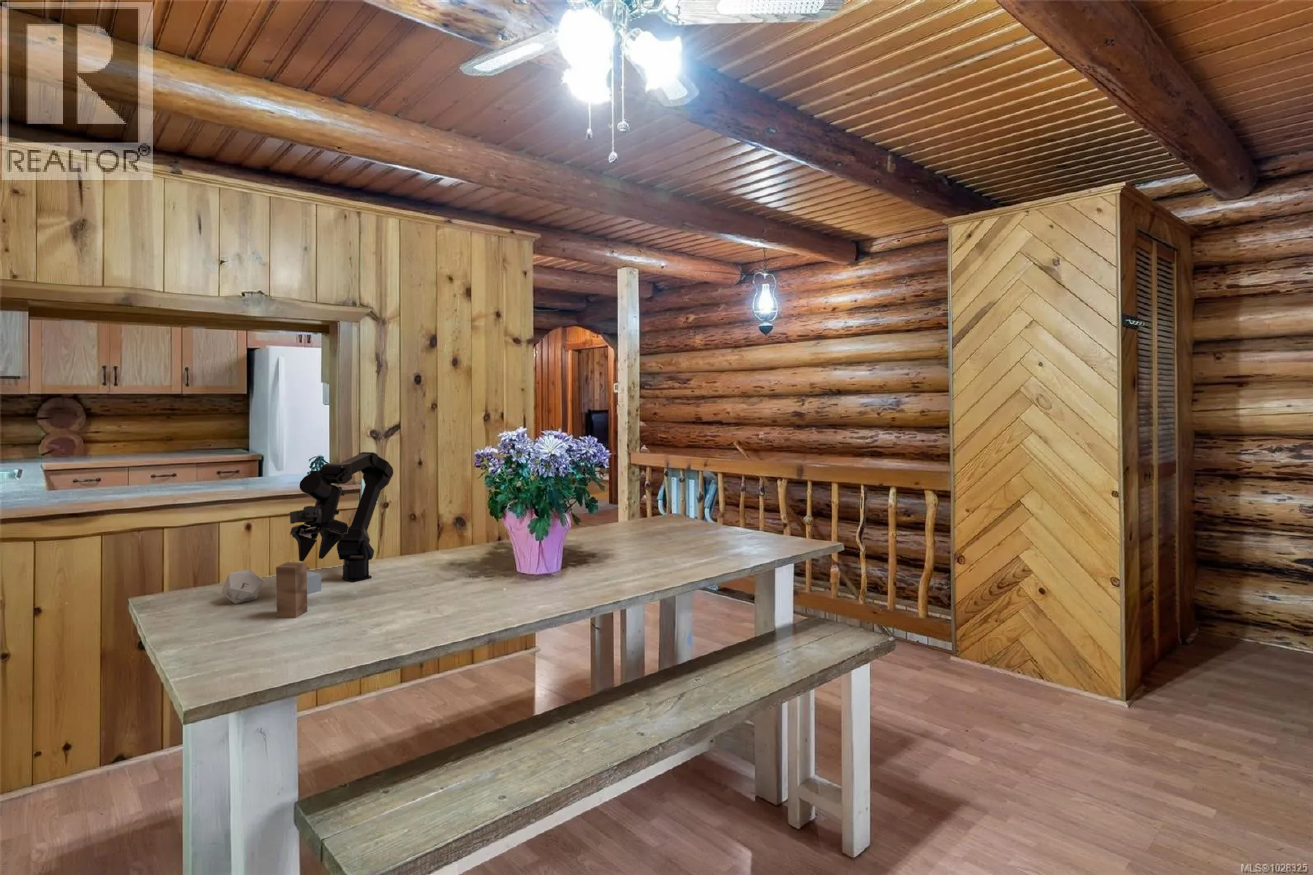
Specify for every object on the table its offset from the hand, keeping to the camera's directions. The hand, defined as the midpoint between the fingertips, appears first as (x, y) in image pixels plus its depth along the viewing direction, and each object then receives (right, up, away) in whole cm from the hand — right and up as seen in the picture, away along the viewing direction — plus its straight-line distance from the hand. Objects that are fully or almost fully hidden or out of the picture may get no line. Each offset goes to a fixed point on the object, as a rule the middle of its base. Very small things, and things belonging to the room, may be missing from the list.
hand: (310, 559), depth 181 cm
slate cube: (-6, -11, +10) cm, 16 cm away
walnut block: (0, -12, -10) cm, 16 cm away
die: (-19, -11, 0) cm, 22 cm away
